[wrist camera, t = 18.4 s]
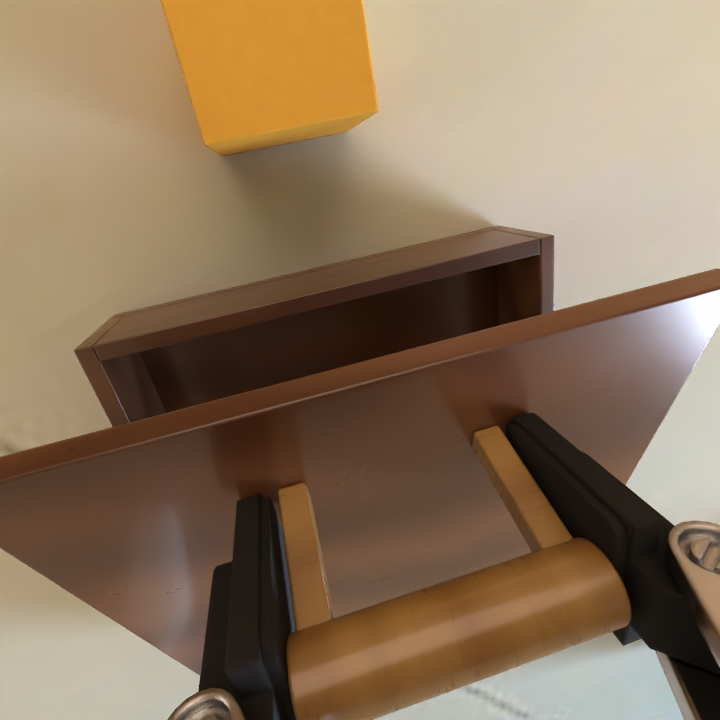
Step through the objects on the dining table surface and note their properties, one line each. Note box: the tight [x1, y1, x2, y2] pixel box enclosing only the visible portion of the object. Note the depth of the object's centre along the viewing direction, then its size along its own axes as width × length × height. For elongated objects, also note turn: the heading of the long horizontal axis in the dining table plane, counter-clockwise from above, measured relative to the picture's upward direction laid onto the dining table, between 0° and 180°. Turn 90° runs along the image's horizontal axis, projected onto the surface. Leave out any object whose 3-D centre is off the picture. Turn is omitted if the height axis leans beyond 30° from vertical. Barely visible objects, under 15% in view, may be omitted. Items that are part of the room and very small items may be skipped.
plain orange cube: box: [160, 0, 378, 156], centre depth 13 cm, size 5×5×5 cm
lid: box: [0, 269, 720, 720], centre depth 14 cm, size 20×17×5 cm
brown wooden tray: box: [74, 226, 554, 427], centre depth 21 cm, size 19×17×4 cm
